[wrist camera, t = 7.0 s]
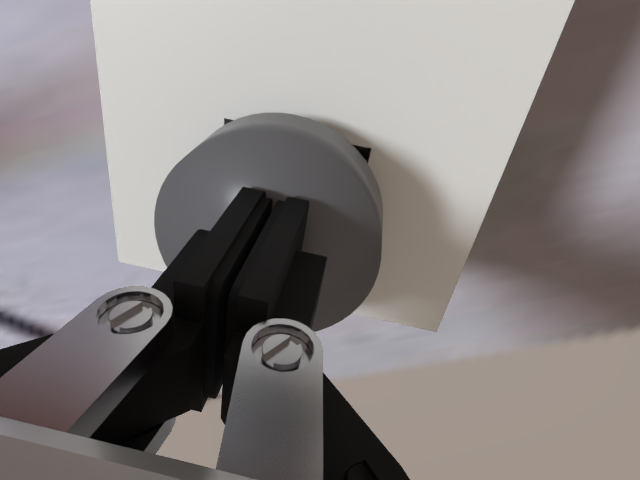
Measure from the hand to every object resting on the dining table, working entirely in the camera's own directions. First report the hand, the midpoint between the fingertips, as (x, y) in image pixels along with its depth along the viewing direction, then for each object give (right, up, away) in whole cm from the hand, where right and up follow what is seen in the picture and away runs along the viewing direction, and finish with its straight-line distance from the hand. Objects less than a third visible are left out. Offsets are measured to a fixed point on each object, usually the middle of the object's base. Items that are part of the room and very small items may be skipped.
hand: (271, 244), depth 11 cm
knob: (+1, +4, +7) cm, 8 cm away
